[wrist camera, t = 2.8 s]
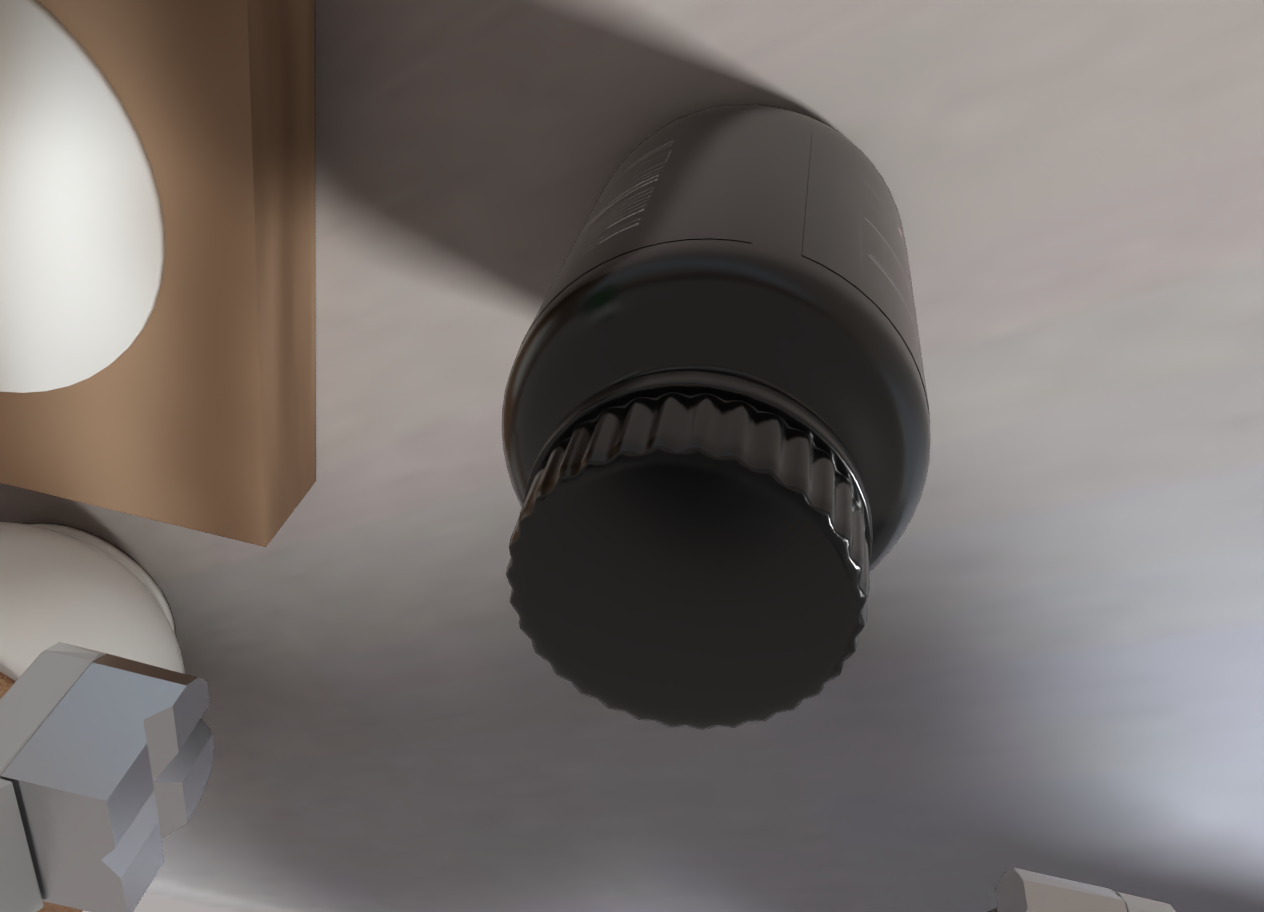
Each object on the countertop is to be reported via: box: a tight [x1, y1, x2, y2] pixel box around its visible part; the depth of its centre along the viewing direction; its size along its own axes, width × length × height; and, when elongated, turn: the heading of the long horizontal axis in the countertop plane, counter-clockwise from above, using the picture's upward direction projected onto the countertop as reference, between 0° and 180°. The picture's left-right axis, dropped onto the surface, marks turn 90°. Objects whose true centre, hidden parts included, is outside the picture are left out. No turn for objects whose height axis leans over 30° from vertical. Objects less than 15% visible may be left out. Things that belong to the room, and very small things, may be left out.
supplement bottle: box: [502, 104, 930, 730], centre depth 19 cm, size 7×7×12 cm
